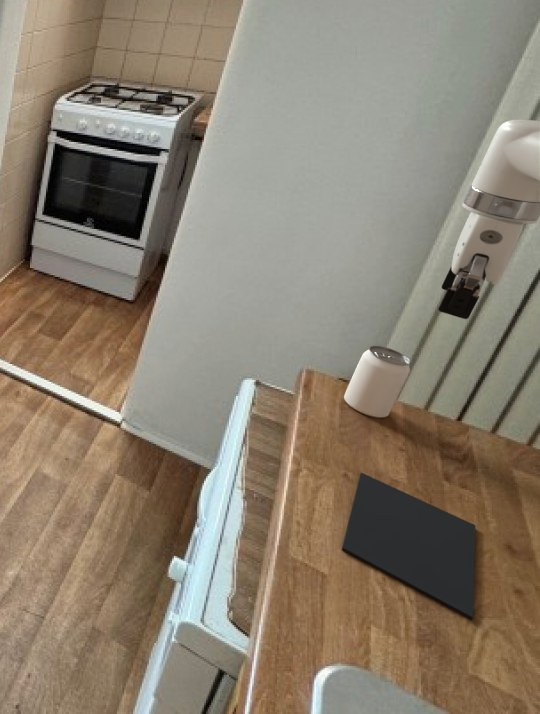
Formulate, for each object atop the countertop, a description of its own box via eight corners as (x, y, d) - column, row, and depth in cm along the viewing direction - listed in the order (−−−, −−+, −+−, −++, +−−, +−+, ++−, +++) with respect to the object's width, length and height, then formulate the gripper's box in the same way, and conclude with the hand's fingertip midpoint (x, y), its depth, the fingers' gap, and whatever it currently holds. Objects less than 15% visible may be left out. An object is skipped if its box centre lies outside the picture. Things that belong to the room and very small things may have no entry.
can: (395, 422, 110) (421, 370, 106) (352, 413, 112) (375, 361, 108) (377, 399, 116) (402, 348, 111) (336, 391, 118) (358, 340, 113)
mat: (474, 527, 90) (475, 525, 90) (471, 620, 78) (473, 617, 77) (360, 474, 99) (361, 472, 99) (341, 550, 86) (342, 547, 86)
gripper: (545, 229, 80) (488, 335, 86) (538, 196, 91) (488, 293, 97) (464, 211, 85) (416, 313, 91) (467, 183, 96) (424, 275, 102)
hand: (453, 302), depth 94 cm, fingers open, 9 cm apart
